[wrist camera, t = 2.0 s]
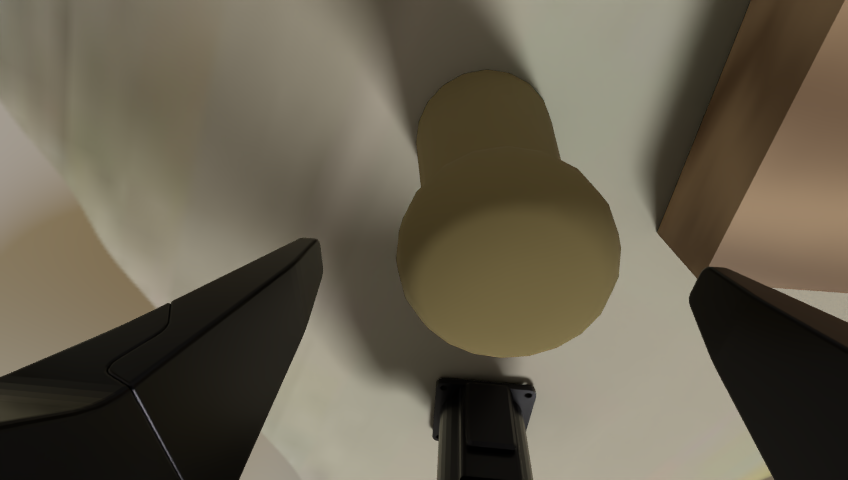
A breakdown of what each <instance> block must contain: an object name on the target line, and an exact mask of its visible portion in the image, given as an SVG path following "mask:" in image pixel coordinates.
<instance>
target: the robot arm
mask: <svg viewBox="0 0 848 480" xmlns="http://www.w3.org/2000/svg"><path fill="white" fill-rule="evenodd" d="M322 274H323V264H322V256H321V248H320V243H319V241H318V240H317V239H313V238H300V239H298V240H296V241H294V242H292V243H289V244H287V245H285V246H283V247H281V248H279V249H277V250H275V251H273V252H271V253H269V254H267V255H265V256H263V257H261V258H259V259H257V260H255V261H253V262H251V263H249V264H247V265H245V266H243V267H241V268H239V269H237V270H234V271H232V272H230V273H228V274H226V275H224V276H222V277H220V278H218V279H216V280H214V281H212V282H210V283H208V284H206V285H204V286H202V287H200V288H198V289H196V290H194V291H192V292H190V293H188V294H186V295H184V296H181V297H179V298H177V299H175V300H173V301H172V302H171V304H170V303H167V304H165V305H163V306H161V307H159V308H157V309H155V310H153V311H151V312H149V313H147V314H145V315H142V316H140V317H138V318H136V319H134V320H132V321H130V322H128V323H125V324H124V325H121V326H119V327H116V328H114V329H112V330H110V331H107V332H105V333H103V334H100V335H98V336H96V337H94V338H91V339H89V340H87V341H84V342H82V343H80V344H77V345H75V346H73V347H70V348H68V349H66V350H63V351H61V352H59V353H56V354H54V355H52V356H49V357H47V358H44V359H42V360H40V361H38V362H35V363H33V364H30V365H28V366H25V367H23V368H21V369H19V370H16V371H14V372H11V373H9V374H7V375H4V376H2V377H0V480H239V479H240V476H241V474H242V472H243V470H244V467H245V465H246V463H247V460H248V458H249V456H250V454H251V451H252V449H253V447H254V445H255V442H256V440H257V438H258V436H259V434H260V431H261V429H262V427H263V425H264V422H265V420H266V418H267V416H268V413H269V411H270V409H271V407H272V404H273V402H274V400H275V398H276V395H277V393H278V391H279V389H280V387H281V384H282V382H283V380H284V378H285V375H286V373H287V371H288V369H289V366H290V364H291V362H292V360H293V357H294V355H295V353H296V351H297V348H298V346H299V344H300V342H301V339H302V337H303V335H304V332H305V330H306V327H307V324H308V321H309V318H310V315H311V311H312V308H313V305H314V301H315V298H316V295H317V292H318V288H319V285H320V282H321V278H322ZM689 304H690V307H691V310H692V312H693V315H694V317H695V320H696V322H697V325H698V327H699V330H700V332H701V335H702V337H703V340H704V342H705V345H706V348H707V350H708V353H709V355H710V357H711V360H712V362H713V364H714V366H715V368H716V370H717V372H718V374H719V376H720V378H721V380H722V382H723V383H724V385H725V387H726V389H727V391H728V393H729V395H730V397H731V399H732V401H733V402H734V404H735V406H736V408H737V410H738V412H739V414H740V416H741V418H742V420H743V421H744V423H745V425H746V427H747V429H748V431H749V433H750V435H751V437H752V439H753V440H754V442H755V444H756V446H757V448H758V450H759V452H760V454H761V456H762V458H763V459H764V461H765V463H766V465H767V467H768V469H769V471H770V473H771V475H772V476H773V478H774V480H848V322H846V321H843V320H841V319H839V318H837V317H835V316H832V315H830V314H828V313H826V312H823V311H821V310H819V309H817V308H815V307H812V306H810V305H808V304H806V303H804V302H801V301H799V300H797V299H795V298H792V297H790V296H788V295H786V294H784V293H781V292H779V291H777V290H775V289H773V288H770V287H768V286H766V285H764V284H761V283H759V282H757V281H755V280H753V279H750V278H748V277H746V276H744V275H742V274H739V273H737V272H735V271H733V270H730V269H728V268H724V267H706V268H704V269H703V270H702V271H701V273H700V275H699V277H698V279H697V281H696V283H695V285H694V287H693V289H692V291H691V293H690V296H689ZM535 398H536V392H535V388H534V387H533V386H530V385H520V384H508V383H497V382H485V381H474V380H463V379H451V378H440V379H438V380H437V384H436V397H435V410H434V423H433V439H434V440H436V441H439V446H438V467H437V480H533V475H532V469H531V463H530V456H529V450H528V443H527V437H526V429H527V426H528V422H529V419H530V416H531V412H532V409H533V405H534V402H535Z"/></svg>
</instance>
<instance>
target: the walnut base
mask: <svg viewBox="0 0 848 480" xmlns="http://www.w3.org/2000/svg"><path fill="white" fill-rule="evenodd" d="M657 233H658V235H659V236H660V237H661V238H662V239H663V240H664V241H665V243H666V244H667V245H668V246H669V247H670V248H671V249H672V251H673V252H674V253H675V254H676V255H677V256H678V257H679V258H680V260H681V261H682V262H683V263H684V264H685V265H686V266H687V268H688V269H689V270H690V271H691V272H692V273H693V274H694V276H695V277H696V278H697V279H698V277H699V275H700V273H701V271H702V270H703V269H704V268H706V267H724V268H728V269H730V270H733V271H735V272H737V273H739V274H742V275H744V276H746V277H748V278H750V279H753V280H755V281H757V282H759V283H761V284H764V285H766V286H768V287H771V288H784V289H798V290H812V291H826V292H839V293H848V0H751V2H750V4H749V7H748V9H747V12H746V14H745V17H744V19H743V21H742V24H741V26H740V29H739V31H738V34H737V36H736V39H735V41H734V44H733V46H732V49H731V51H730V54H729V56H728V59H727V61H726V64H725V66H724V68H723V71H722V73H721V76H720V78H719V81H718V83H717V86H716V88H715V91H714V93H713V96H712V98H711V101H710V103H709V106H708V108H707V111H706V113H705V115H704V118H703V120H702V123H701V125H700V128H699V130H698V133H697V135H696V138H695V140H694V143H693V145H692V148H691V150H690V153H689V155H688V158H687V160H686V162H685V165H684V167H683V170H682V172H681V175H680V177H679V180H678V182H677V185H676V187H675V190H674V192H673V195H672V197H671V200H670V202H669V204H668V207H667V209H666V212H665V214H664V217H663V219H662V222H661V224H660V227H659V229H658V232H657Z"/></svg>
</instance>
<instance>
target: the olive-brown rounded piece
mask: <svg viewBox="0 0 848 480" xmlns="http://www.w3.org/2000/svg"><path fill="white" fill-rule="evenodd" d="M416 145H417V154H418V163H419V173H420V182H421V188H420V189H419V190H418V191H417V192H416V194H415V196H414V198H413V200H412V202H411V204H410V206H409V208H408V210H407V211H406V213H405V215H404V217H403V220H402V223H401V226H400V230H399V237H398V246H397V255H396V261H397V267H398V272H399V276H400V280H401V283H402V287H403V291H404V295H405V298H406V299H407V301H408V302H409V304H410V305H411V306H412V308H413V309H414V311H415V312H416V313H417V315H418V316H419V318H420V319H421V320H422V322H423V323H424V324H425V325H426V326H427V327H428V329H430V330H431V331H432V332H434V333H435V334H436V335H438V336H439V337H440V338H442V339H443V340H444V341H446V342H447V343H448V344H451V345H453V346H456V347H458V348H461V349H463V350H466V351H468V352H471V353H473V354H479V355H486V356H492V357H499V358H505V357H519V356H530V355H534V354H537V353H540V352H544V351H547V350H551V349H554V348H557V347H559V346H561V345H562V344H564V343H566V342H568V341H569V340H571V339H573V338H575V337H576V336H578V335H580V334H581V333H582V332H583V331H584V330H585V329H586V328H587V327H588V326H589V325H590V324H591V323H592V322H593V321H594V320H595V319H596V318H597V317H598V316H599V315H600V314H601V313H602V311H603V309H604V307H605V305H606V303H607V301H608V298H609V296H610V294H611V292H612V290H613V288H614V286H615V284H616V282H617V279H618V277H619V265H620V253H621V245H620V240H619V234H618V231H617V228H616V225H615V222H614V219H613V216H612V213H611V210H610V207H609V204H608V203H607V202H606V200H605V199H604V198H603V197H602V196H601V194H600V193H599V192H598V191H597V190H596V189H595V187H594V186H593V185H592V184H591V183H590V182H589V181H588V180H587V179H586V177H585V176H584V175H583V174H582V173H581V172H580V171H579V170H578V169H577V168H575V167H573V166H571V165H569V164H567V163H565V162H563V161H562V160H561V159H560V155H559V151H558V147H557V143H556V138H555V134H554V130H553V126H552V122H551V119H550V116H549V114H548V111H547V108H546V106H545V103H544V100H543V99H542V98H541V97H540V96H539V95H538V93H537V92H536V91H535V90H534V89H533V88H532V87H531V85H530V84H529V83H527V82H525V81H523V80H521V79H519V78H518V77H516V76H514V75H512V74H510V73H506V72H500V71H493V70H481V71H476V72H471V73H466V74H463V75H461V76H459V77H457V78H455V79H454V80H452V81H450V82H448V83H446V84H445V85H443V86H442V87H441V88H440V89H439V90H438V92H437V93H436V94H435V95H434V96H433V97H432V98H431V99H430V100H429V101H428V103H427V105H426V107H425V109H424V112H423V114H422V116H421V118H420V120H419V124H418V132H417V140H416Z"/></svg>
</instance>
